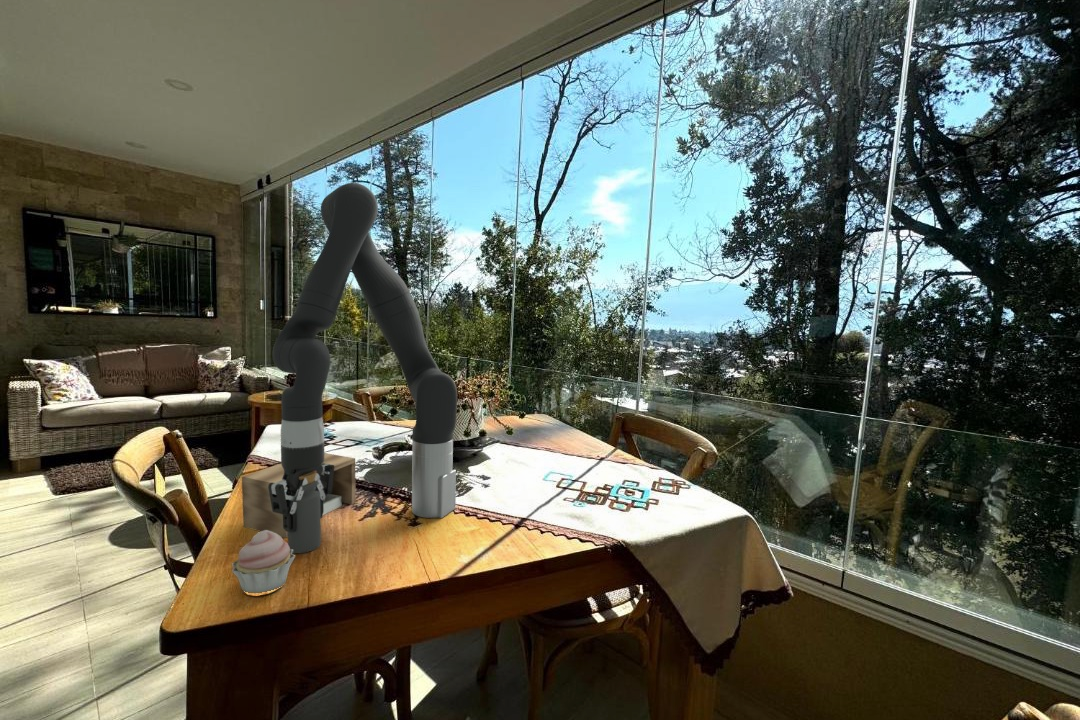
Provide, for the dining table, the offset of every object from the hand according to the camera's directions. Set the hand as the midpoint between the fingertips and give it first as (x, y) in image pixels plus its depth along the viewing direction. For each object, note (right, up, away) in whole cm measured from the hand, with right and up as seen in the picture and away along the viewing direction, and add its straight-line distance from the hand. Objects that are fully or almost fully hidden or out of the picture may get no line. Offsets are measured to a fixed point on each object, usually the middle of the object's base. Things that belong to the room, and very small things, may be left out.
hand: (304, 524), depth 95 cm
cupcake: (0, -6, -13) cm, 15 cm away
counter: (-8, -3, +15) cm, 17 cm away
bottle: (0, -5, +1) cm, 5 cm away
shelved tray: (-7, -3, +15) cm, 17 cm away
